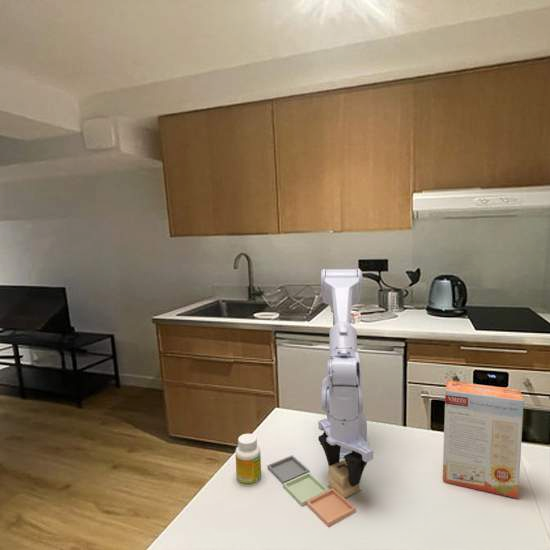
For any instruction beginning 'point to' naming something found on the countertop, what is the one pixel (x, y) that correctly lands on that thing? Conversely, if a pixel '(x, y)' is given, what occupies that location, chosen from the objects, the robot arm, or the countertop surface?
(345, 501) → the terracotta dish
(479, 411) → the cracker box
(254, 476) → the supplement bottle
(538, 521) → the countertop surface
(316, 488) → the sage dish
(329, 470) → the letter cube
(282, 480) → the charcoal dish
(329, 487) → the slate mat
